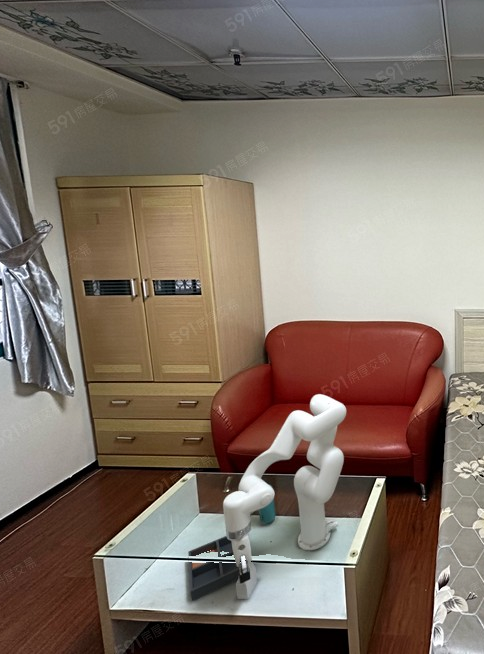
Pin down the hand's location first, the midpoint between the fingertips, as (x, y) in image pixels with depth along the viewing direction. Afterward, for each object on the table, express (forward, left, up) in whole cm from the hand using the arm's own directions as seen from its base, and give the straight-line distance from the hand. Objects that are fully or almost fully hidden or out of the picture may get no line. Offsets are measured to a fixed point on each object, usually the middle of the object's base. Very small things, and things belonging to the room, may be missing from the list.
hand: (243, 570), depth 142 cm
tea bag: (-1, 0, -9) cm, 9 cm away
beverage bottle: (-13, -29, -9) cm, 33 cm away
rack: (+6, -16, -9) cm, 20 cm away
